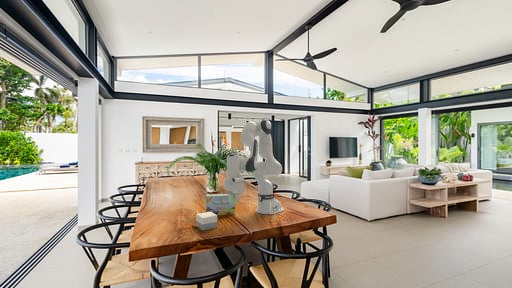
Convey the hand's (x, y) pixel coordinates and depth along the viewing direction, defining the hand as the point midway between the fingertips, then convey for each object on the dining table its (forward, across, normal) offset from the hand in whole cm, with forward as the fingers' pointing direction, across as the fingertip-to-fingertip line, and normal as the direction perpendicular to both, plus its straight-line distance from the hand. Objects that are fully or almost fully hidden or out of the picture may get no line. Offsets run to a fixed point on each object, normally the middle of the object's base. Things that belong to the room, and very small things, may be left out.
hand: (233, 198), depth 158 cm
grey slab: (+17, -6, -17) cm, 25 cm away
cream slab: (+13, -6, -17) cm, 22 cm away
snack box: (+18, -24, +2) cm, 30 cm away
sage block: (+3, 0, 0) cm, 3 cm away
